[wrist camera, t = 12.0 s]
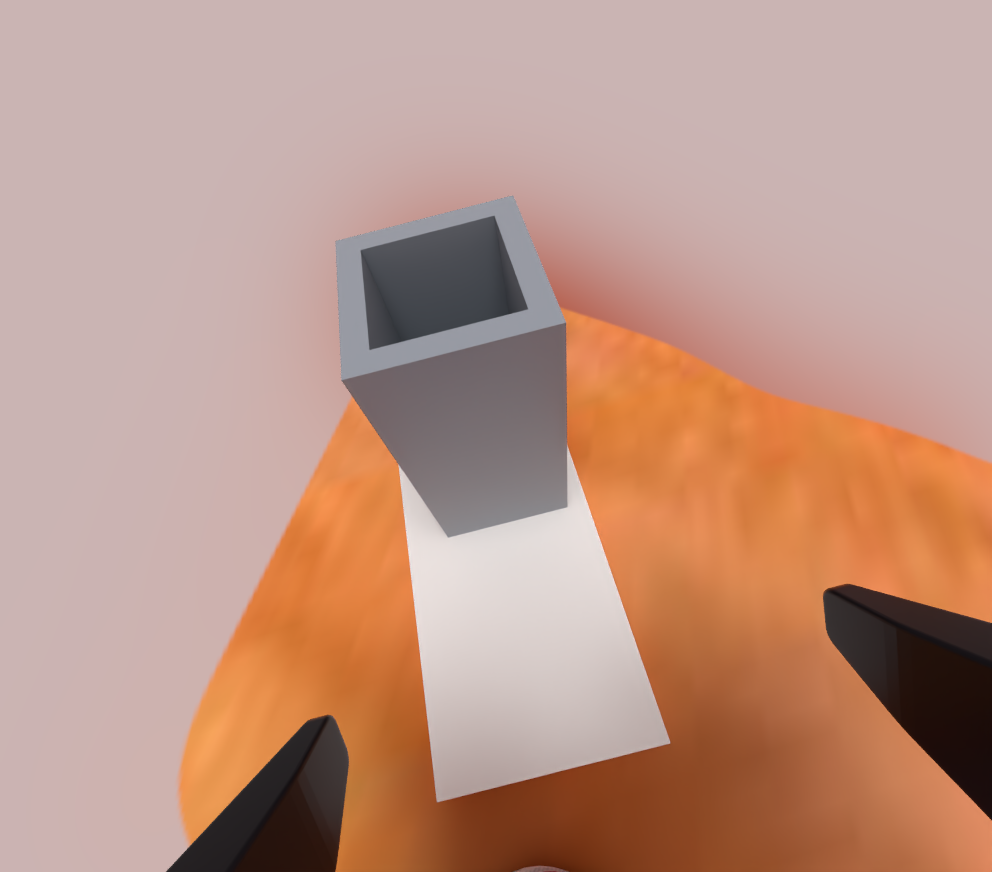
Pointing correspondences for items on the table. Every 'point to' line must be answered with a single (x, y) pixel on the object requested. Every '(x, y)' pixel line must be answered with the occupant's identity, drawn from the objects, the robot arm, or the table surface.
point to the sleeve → (459, 361)
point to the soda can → (540, 869)
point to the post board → (524, 648)
